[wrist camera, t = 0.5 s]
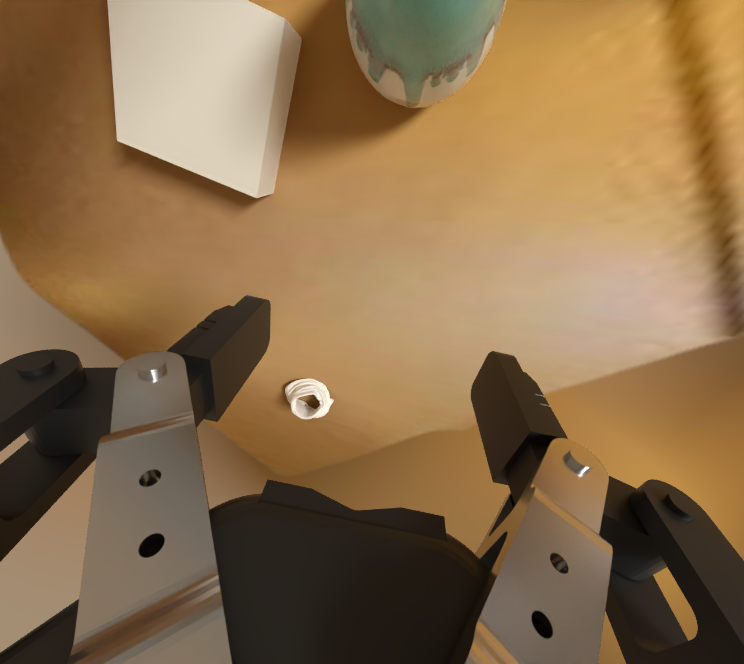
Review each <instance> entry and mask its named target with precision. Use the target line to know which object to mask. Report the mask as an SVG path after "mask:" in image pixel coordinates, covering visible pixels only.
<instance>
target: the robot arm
mask: <svg viewBox="0 0 744 664" xmlns="http://www.w3.org/2000/svg"><path fill="white" fill-rule="evenodd" d="M269 340H270V302H269V300H266V299H262V298H257V297H253V296H248V295H247V296H245V297H244V298H243V299H241V300H240V301H239V302H238V303H237V304H236V305H235V306H234V307H233V306H229V305H228V306H226V307H223V308H221V309H218V310H216V311H214V312H212V313H211V314H210V315H209V316H208V317H207V318H205V320H204V321H202V322H201V323H199V324H198V325H197V327H196V328H193V329H192V330H191V331H190V332H189V333H187V334H186V335H185V336H184V337H183V338H181V339H180V340H179V341H178V342H177V343H175V344H174V345H173V346H172V347H171V348H170V349H168V350H167V351H154V352H147V353H143V354H140V355H137V356H134V357H132V358H130V359H128V360H127V361H125V362H124V363H123V364H121V366H120V367H119V368H83V367H82V365H81V362H80V360H79V357H78V356H77V355H76V354H75V353H73V352H70V351H66V350H57V349H56V350H55V349H52V350H41V351H35V352H31V353H27V354H23V355H20V356H17V357H15V358H13V359H10V360H8V361H6V362H4V363H2V364H1V365H0V451H2V450H3V449H4V448H5V447H7V446H8V445H9V444H11V443H12V442H13V441H14V440H15V439H17V438H18V437H19V436H21V435H22V434H23V433H25V435H26V436H27V438H28V439H29V441H28V442H27V443H26V444H24V445H23V446H22V447H21V448H20V449H18V450H17V451H16V452H15V453H14V454H12V455H11V456H10V457H9V458H7V459H6V460H5V461H4V462H3V463H1V464H0V562H1V561H2V559H3V558H4V557H5V556H6V555H7V554H8V553H9V552H10V551H11V550H12V549H13V548H14V546H15V545H16V544H17V543H18V542H19V541H20V540H21V539H22V538H23V537H24V536H25V534H27V532H28V531H29V530H30V529H31V528H32V527H33V526H34V525H35V524H36V523H37V522H38V521H39V519H40V518H41V517H42V516H43V515H44V514H45V513H46V512H47V511H48V510H49V509H50V508H51V506H52V505H53V504H54V503H55V502H56V501H57V500H58V499H59V498H60V497H61V496H62V495H63V493H64V492H65V491H66V490H67V489H68V488H69V487H70V486H71V485H72V484H73V483H74V481H75V480H76V479H77V478H78V477H79V476H80V475H81V474H82V473H83V472H84V471H85V470H86V469H87V467H88V466H89V465H90V464H91V463H92V462H93V461H94V460H95V459H96V465H95V473H94V482H93V490H92V498H91V506H90V515H89V523H88V532H87V539H86V547H85V556H84V564H83V572H82V580H81V589H80V597H79V599H78V600H77V601H75V602H74V603H72V604H71V605H69V606H68V607H66V608H65V609H63V610H62V611H61V612H59V613H58V614H56V615H55V616H53V617H52V618H50V619H49V620H47V621H46V622H45V623H43V624H42V625H40V626H39V627H37V628H36V629H34V630H33V631H31V632H30V633H28V634H27V635H25V636H24V637H23V638H21V639H20V640H18V641H17V642H15V643H14V644H13V645H11V646H9V647H8V648H7V649H5V650H4V651H2V652H1V653H0V664H598V661H599V653H600V646H601V638H602V631H603V622H604V616H605V611H606V613H607V616H608V618H609V621H610V623H611V626H612V628H613V631H614V633H615V636H616V639H617V641H618V643H619V646H620V649H621V651H622V654H623V656H624V659H625V661H626V664H744V561H743V559H742V558H741V557H740V556H739V554H738V553H737V552H736V550H735V549H734V548H733V547H732V545H731V544H730V543H729V542H728V540H727V539H726V538H725V536H724V535H723V534H722V533H721V531H720V530H719V529H718V528H717V526H716V525H715V524H714V522H713V521H712V520H711V519H710V517H709V516H708V515H707V514H706V512H705V511H704V510H703V509H702V508H701V507H700V506H699V505H698V504H697V503H696V502H695V501H693V500H692V499H691V498H690V497H688V496H687V495H686V494H684V493H683V492H682V491H680V490H678V489H677V488H675V487H673V486H671V485H670V484H667V483H665V482H662V481H659V480H648V481H646V482H645V483H644V484H642V485H641V486H640V487H639V488H637V489H636V488H634V487H632V486H630V485H628V484H626V483H623V482H621V481H619V480H617V479H615V478H613V477H611V476H608V473H607V470H606V469H605V467H604V465H603V464H602V463H601V461H600V460H599V459H598V458H597V457H596V456H595V455H594V454H593V453H592V452H590V451H589V450H588V449H587V448H585V447H584V446H582V445H580V444H578V443H576V442H574V441H572V440H569V439H568V438H567V436H566V434H565V432H564V431H563V429H562V427H561V425H560V424H559V422H558V420H557V418H556V416H555V415H554V413H553V412H552V410H551V408H550V407H548V406H549V404H548V403H547V401H546V399H545V398H544V397H543V393H542V392H541V390H540V388H539V386H538V385H537V383H536V382H535V381H534V380H533V379H532V378H531V377H530V376H529V375H528V374H527V373H525V372H523V371H522V369H521V367H520V365H519V363H518V361H517V360H516V358H515V357H514V356H512V355H508V354H503V353H499V352H495V351H492V352H490V353H489V354H488V355H487V357H486V359H485V361H484V363H483V365H482V367H481V369H480V371H479V373H478V375H477V377H476V379H475V381H474V383H473V385H472V389H471V401H472V404H473V408H474V412H475V416H476V419H477V423H478V427H479V431H480V434H481V438H482V442H483V445H484V449H485V453H486V457H487V461H488V464H489V468H490V472H491V476H492V480H493V482H496V483H500V484H505V485H509V488H510V491H511V492H510V493H509V494H508V495H507V497H506V498H505V500H504V502H503V503H502V505H501V507H500V509H499V511H498V513H497V515H496V517H495V518H494V521H493V522H492V524H491V526H490V528H489V530H488V532H487V534H486V535H485V537H484V539H483V541H482V543H481V545H480V546H479V548H478V549H477V551H476V552H475V553H473V552H472V551H471V550H470V549H469V548H467V547H466V546H465V545H464V544H463V543H461V542H460V541H458V540H457V539H455V538H454V537H452V536H451V535H449V534H447V533H446V529H445V519H444V516H439V515H434V514H430V513H425V512H420V511H415V510H410V509H406V508H390V509H374V510H360V511H359V510H353V509H350V508H348V507H346V506H344V505H342V504H340V503H338V502H337V501H335V500H333V499H331V498H329V497H327V496H325V495H323V494H321V493H319V492H317V491H315V490H313V489H311V488H306V487H301V486H296V485H292V484H287V483H282V482H277V481H273V480H267V482H266V485H265V488H264V490H263V492H262V494H253V495H247V496H242V497H239V498H236V499H232V500H229V501H227V502H225V503H222V504H220V505H218V506H216V507H214V508H212V509H210V508H209V502H208V496H207V490H206V485H205V478H204V472H203V465H202V459H201V453H200V447H199V441H198V435H197V427H198V425H199V424H200V423H201V421H202V420H203V419H206V420H211V421H216V422H218V420H219V419H220V417H221V416H222V415H223V413H224V412H225V410H226V409H227V407H228V406H229V404H230V403H231V402H232V400H233V399H234V397H235V396H236V394H237V393H238V392H239V390H240V389H241V387H242V386H243V384H244V383H245V381H246V380H247V379H248V377H249V376H250V374H251V373H252V371H253V370H254V368H255V367H256V366H257V364H258V363H259V361H260V360H261V358H262V357H263V355H264V354H265V352H266V350H267V348H268V345H269ZM666 567H668V569H669V570H670V572H671V574H672V575H673V577H674V579H675V580H676V582H677V584H678V586H679V587H680V589H681V591H682V592H683V594H684V596H685V598H686V599H687V601H688V603H689V604H690V606H691V607H692V610H693V612H694V614H695V616H696V620H697V624H698V631H697V635H696V637H695V638H694V639H692V640H690V641H688V640H687V637H686V636H685V634H684V632H683V630H682V628H681V626H680V625H679V623H678V621H677V619H676V617H675V615H674V613H673V612H672V610H671V608H670V606H669V604H668V603H667V601H666V599H665V597H664V595H663V593H662V591H661V589H660V588H659V586H658V584H657V582H656V580H655V578H654V576H653V575H654V574H655V573H657V572H659V571H661V570H662V569H664V568H666Z"/></svg>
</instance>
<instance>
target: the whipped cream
mask: <svg viewBox="0 0 744 664" xmlns="http://www.w3.org/2000/svg"><path fill="white" fill-rule="evenodd" d="M285 394H286V396H287V400H288V402H289V403H290V404H291V410H292V412H293V413H294V414H295V415H297V416H298V417H299V418H302V419H311V418H319V417H322V416H324V415H325V414H326V413H327V412H328V411H329V408H330V406H331V404H332V403H333V401H334V400H333V399H331V398H330V395H329V392H328V390H327V388H326V386H325V385H324V384H322V383H320V382H319V381H317V380H314V379H310V378H308V379H300V380H296V381H294V382H292V383H290V384H289V385H288V386H287V387H286V388H285ZM312 394H313V395H315V396H316V398H317V399H318V400H320V406H319V407H318V408H317V409H314V408H312V407H310V406H308V404H307V403H306V402H304V401H302V400H300V399H297V398H299V397H301V396H306V395H312Z"/></svg>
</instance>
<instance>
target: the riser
mask: <svg viewBox="0 0 744 664" xmlns="http://www.w3.org/2000/svg"><path fill="white" fill-rule="evenodd" d="M107 1H108V15H109V30H110V45H111V59H112V74H113V89H114V103H115V118H116V133H117V141H119V142H121V143H124V144H126V145H129V146H131V147H133V148H136V149H138V150H141V151H143V152H146V153H148V154H150V155H153V156H155V157H158V158H160V159H163V160H165V161H167V162H170V163H172V164H175V165H177V166H180V167H182V168H184V169H187V170H189V171H192V172H194V173H197V174H199V175H201V176H204V177H206V178H209V179H211V180H214V181H216V182H218V183H221V184H223V185H226V186H228V187H231V188H233V189H235V190H238V191H240V192H243V193H245V194H248V195H250V196H252V197H255V198H259V197H263V196H266V195H270V194H273V193H274V188H275V183H276V177H277V172H278V166H279V161H280V156H281V150H282V145H283V139H284V134H285V129H286V123H287V118H288V112H289V107H290V102H291V96H292V91H293V85H294V80H295V75H296V69H297V64H298V58H299V53H300V48H301V42H302V38H301V37H300V35H299V34H298V33H297V32H296V31H295V30H294V28H293V27H292V26H291V25H290V24H289V23H288V21H287V20H286V19H285V18H283V17H281V16H279V15H277V14H275V13H273V12H270V11H268V10H266V9H264V8H262V7H260V6H258V5H256V4H254V3H252V2H250V1H248V0H107Z"/></svg>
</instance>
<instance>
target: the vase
mask: <svg viewBox="0 0 744 664" xmlns="http://www.w3.org/2000/svg"><path fill="white" fill-rule="evenodd" d="M345 1H346V18H347V26H348V32H349V37H350V41H351V46H352V49H353V52H354V55H355V57H356V60H357V62H358V64H359V66H360V68H361V70H362V72H363V74H364V75H365V77H366V79H367V80H368V81H369V83H370V84H371V85H372V86H373V88H374V89H375V90H376V91H377V92H378V93H380V94H381V95H382V96H383V97H385V98H386V99H388V100H390V101H392V102H394V103H396V104H399V105H402V106H405V107H409V108H421V107H428V106H432V105H435V104H438V103H440V102H442V101H444V100H446V99H448V98H449V97H451V96H452V95H454V94H455V93H456V92H458V91H459V90H460V89H461V88H462V87H463V86H464V85H465V84H466V83H467V82H468V81H469V80H470V79H471V78H472V77H473V75H474V74H475V73H476V72H477V70H478V69H479V67H480V66H481V64H482V63H483V61H484V60H485V58H486V56H487V54H488V52H489V50H490V48H491V46H492V44H493V42H494V40H495V37H496V35H497V32H498V29H499V26H500V23H501V20H502V17H503V14H504V10H505V6H506V2H507V0H345Z"/></svg>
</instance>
